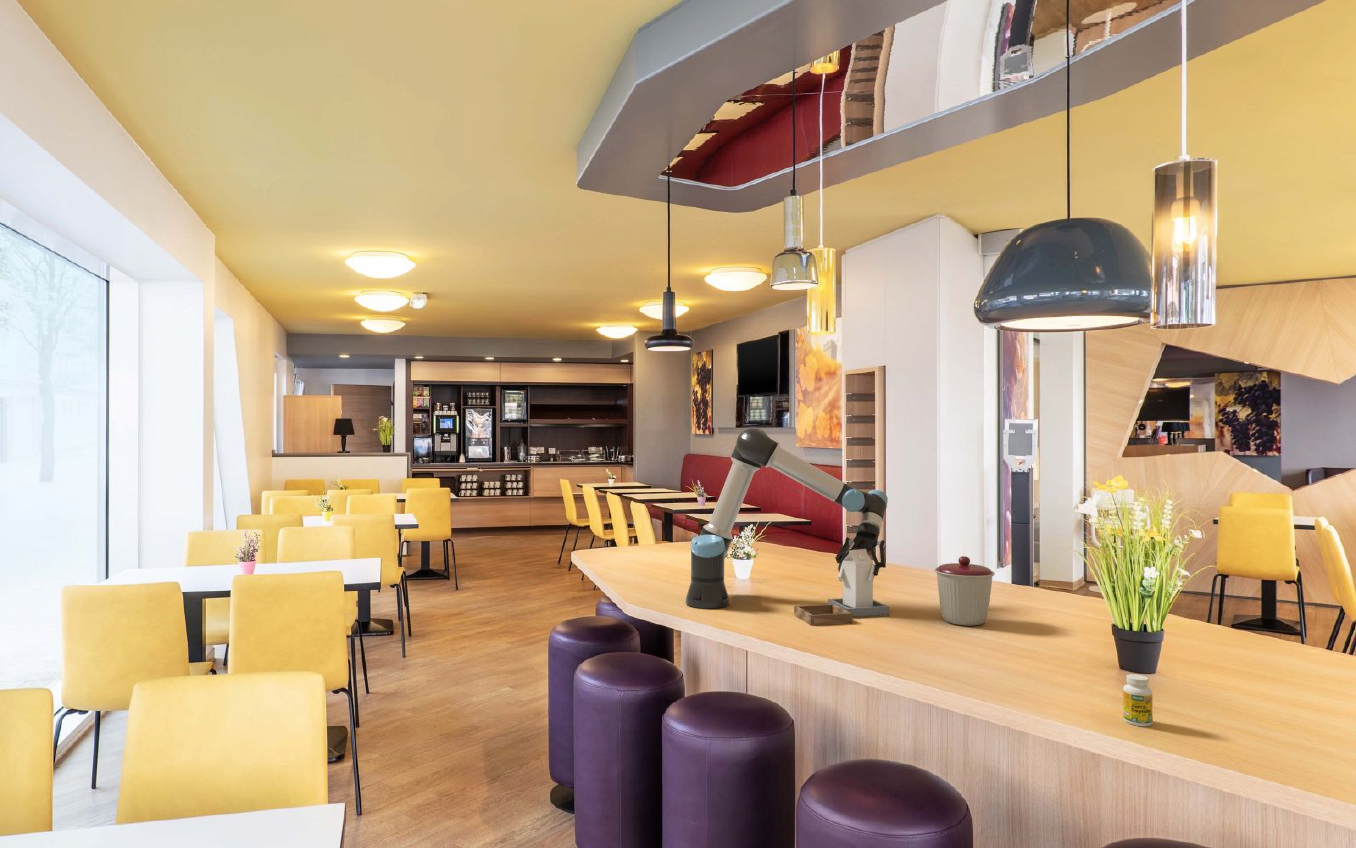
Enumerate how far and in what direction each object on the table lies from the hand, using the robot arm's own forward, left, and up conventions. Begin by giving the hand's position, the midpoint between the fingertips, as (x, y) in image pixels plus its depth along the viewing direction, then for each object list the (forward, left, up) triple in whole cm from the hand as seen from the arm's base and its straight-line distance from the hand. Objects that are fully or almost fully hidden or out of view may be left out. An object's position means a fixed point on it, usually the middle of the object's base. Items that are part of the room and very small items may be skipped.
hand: (855, 581), depth 265 cm
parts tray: (-2, +2, -11) cm, 11 cm away
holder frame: (+5, -14, -11) cm, 18 cm away
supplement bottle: (+104, +14, -11) cm, 105 cm away
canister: (+19, +29, -11) cm, 36 cm away
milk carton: (-2, +2, -9) cm, 10 cm away
